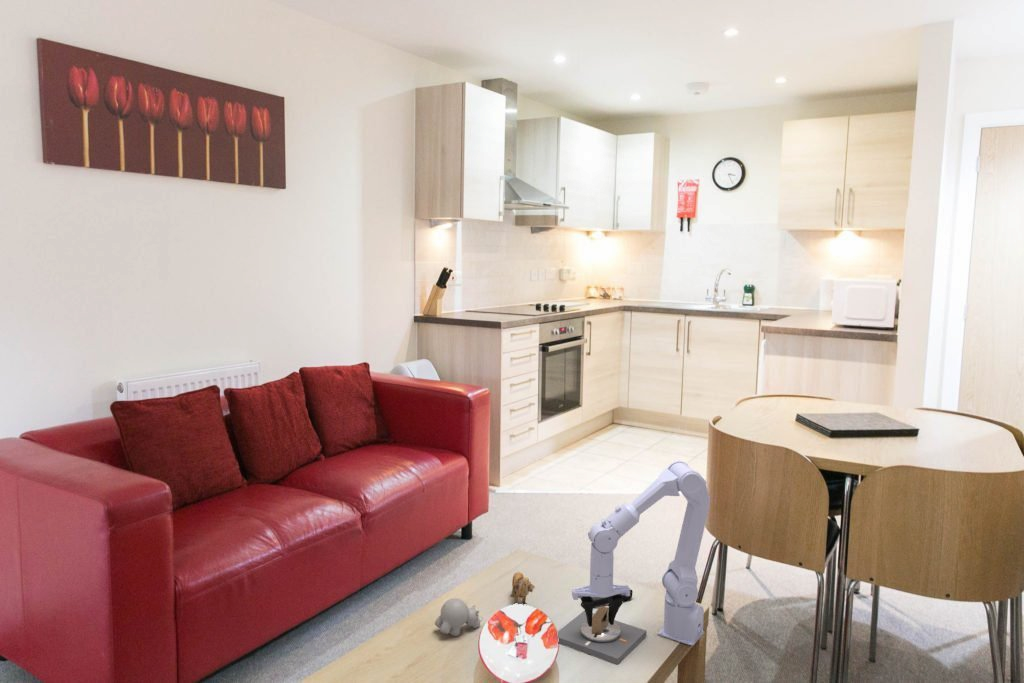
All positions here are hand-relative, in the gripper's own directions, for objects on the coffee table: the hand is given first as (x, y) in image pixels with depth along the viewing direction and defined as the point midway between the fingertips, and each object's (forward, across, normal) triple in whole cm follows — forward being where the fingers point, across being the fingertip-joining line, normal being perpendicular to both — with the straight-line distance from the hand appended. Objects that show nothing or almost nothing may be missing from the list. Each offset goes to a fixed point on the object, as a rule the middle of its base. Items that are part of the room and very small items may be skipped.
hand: (600, 623), depth 182 cm
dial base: (+4, 0, 0) cm, 4 cm away
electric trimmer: (+4, -7, -18) cm, 20 cm away
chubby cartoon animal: (+4, +34, -9) cm, 36 cm away
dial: (+2, 0, 0) cm, 2 cm away
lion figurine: (+4, +16, -23) cm, 28 cm away
